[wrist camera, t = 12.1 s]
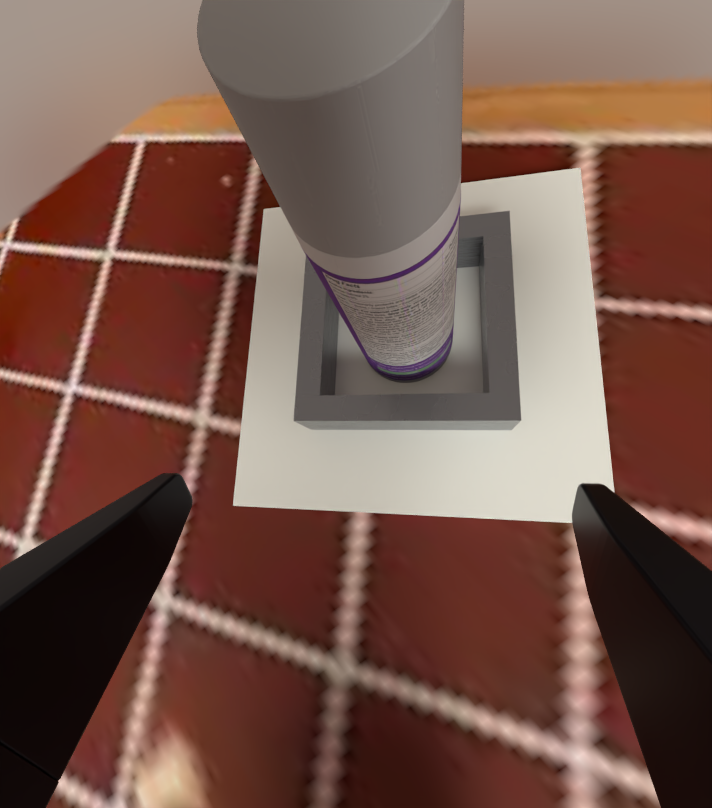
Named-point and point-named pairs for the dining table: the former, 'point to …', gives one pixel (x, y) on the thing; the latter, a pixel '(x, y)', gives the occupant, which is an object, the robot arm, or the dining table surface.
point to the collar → (490, 410)
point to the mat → (441, 383)
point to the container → (357, 153)
